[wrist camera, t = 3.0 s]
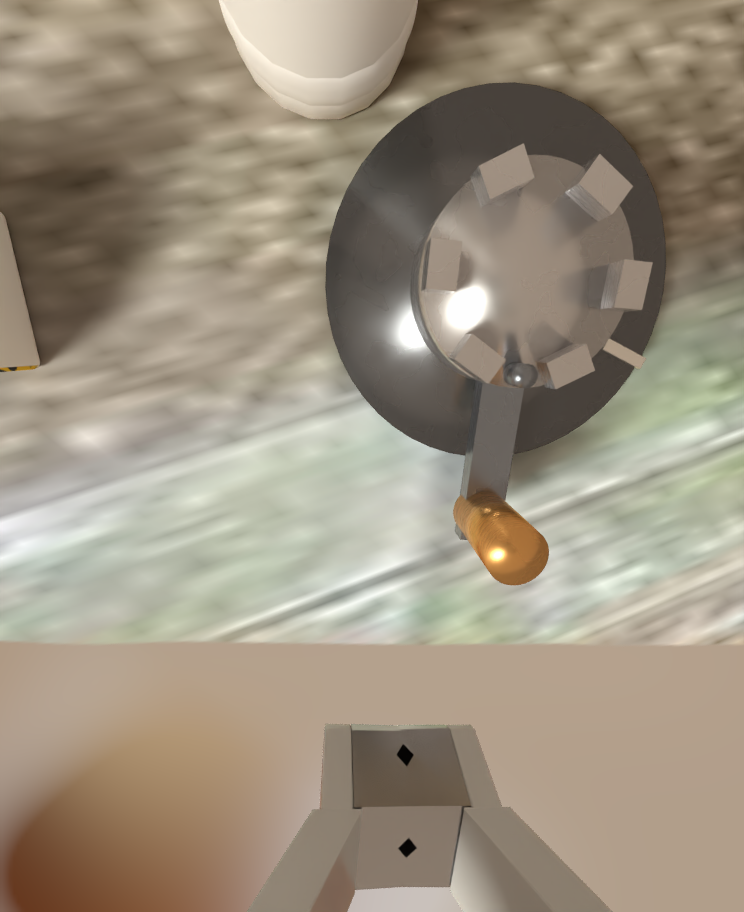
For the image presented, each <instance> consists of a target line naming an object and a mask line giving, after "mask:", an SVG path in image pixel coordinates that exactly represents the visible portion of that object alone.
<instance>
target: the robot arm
mask: <svg viewBox="0 0 744 912" xmlns="http://www.w3.org/2000/svg"><path fill="white" fill-rule="evenodd" d="M391 887H450V891H451V893H452V895H453V896H454V898H455V899H456V901H457V903H458V904H459V906H460V907H461V909H462V911H463V912H612V911H611V910H610V909H609V907H608V906H606V904H605V903H604V902H603V901H601V899H600V898H599V897H598V896H597V895H596V894H595V893H594V892H593V891H592V890H591V889H590V888H589V887H588V886H587V885H586V884H585V883H584V882H583V881H582V880H581V879H580V878H579V877H578V876H577V875H576V874H575V873H574V872H573V871H572V870H571V869H570V868H569V867H568V866H567V865H566V864H565V863H564V862H563V861H562V860H561V859H560V858H559V857H558V856H557V855H556V854H555V852H554V851H552V850H551V849H550V847H549V846H548V845H547V844H546V843H545V842H544V841H543V840H542V839H541V838H540V837H538V835H537V834H536V833H535V832H534V831H533V830H532V829H531V828H530V827H529V826H528V825H527V824H526V823H525V822H524V821H523V820H522V819H521V818H520V817H519V816H518V815H517V814H516V813H515V812H514V811H513V810H512V809H511V808H510V807H502V805H501V802H500V800H499V797H498V794H497V791H496V788H495V786H494V783H493V780H492V777H491V774H490V771H489V769H488V766H487V763H486V760H485V757H484V754H483V752H482V749H481V746H480V743H479V740H478V738H477V735H476V732H475V729H474V728H473V727H472V726H471V725H398V726H393V725H391V726H390V725H364V724H351V726H350V725H349V724H325V730H324V744H323V759H322V775H321V790H320V807H319V809H317V810H312V812H311V813H310V815H309V816H308V818H307V819H306V821H305V823H304V824H303V826H302V827H301V829H300V830H299V832H298V833H297V835H296V836H295V838H294V840H293V841H292V843H291V844H290V846H289V847H288V849H287V850H286V852H285V853H284V855H283V857H282V858H281V860H280V861H279V863H278V864H277V866H276V867H275V869H274V870H273V872H272V874H271V875H270V877H269V878H268V880H267V881H266V883H265V885H264V886H263V888H262V889H261V891H260V892H259V894H258V895H257V897H256V898H255V900H254V902H253V903H252V905H251V906H250V908H249V909H248V911H247V912H347V911H348V908H349V906H350V904H351V901H352V899H353V896H354V893H355V890H360V889H375V888H391Z"/></svg>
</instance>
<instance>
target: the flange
mask: <svg viewBox="0 0 744 912" xmlns="http://www.w3.org/2000/svg"><path fill="white" fill-rule="evenodd" d="M523 143H524V146H525V149H526V152H527V155H549V156H554V157H559V158H563V159H566V160H569V161H571V162H574V163H576V164H578V165H580V166H582V167H583V166H584V165H585V164H586V163H587V162H589V161H590V160H592V159H593V158H594V157H596V156H597V155H599V154H601V155H602V156H603V157H604V158H605V159H606V160H607V161H608V162H609V163H610V164H611V165H612V166H613V167H614V168H615V169H616V170H617V171H618V172H619V173H620V174H621V175H622V176H623V177H624V178H625V179H626V180H627V181H628V182H630V183H631V184H632V185H633V187H632V188H631V190H630V191H629V192H628V194H627V195H626V197H625V198H624V199H623V201H622V202H621V203H620V207H621V209H622V211H623V213H624V215H625V218H626V221H627V224H628V227H629V230H630V234H631V239H632V244H633V257H634V260H635V261H644V262H653V264H652V268H651V272H650V277H649V281H648V286H647V290H646V295H645V299H644V303H643V308H642V310H637V311H628V312H623V315H622V317H621V319H620V321H619V323H618V325H617V327H616V329H615V330H614V332H613V333H612V335H611V336H610V338H609V339H608V341H607V342H606V343H605V345H604V346H603V347H602V348H601V349H600V350H599V352H598V353H597V354H596V355H595V356H594V357H593V358H591V359H592V362H593V366H594V369H595V371H593V372H591V373H589V374H587V375H585V376H583V377H581V378H578V379H576V380H574V381H572V382H570V383H568V384H566V385H564V386H562V387H560V388H558V389H551V388H546V387H544V385H542V386H538V387H530V388H526V389H524V391H523V397H522V403H521V409H520V415H519V421H518V427H517V433H516V439H515V445H514V451H513V454H516V453H520V452H525V451H529V450H532V449H535V448H538V447H540V446H543V445H546V444H549V443H551V442H553V441H555V440H557V439H559V438H561V437H563V436H565V435H567V434H568V433H570V432H571V431H573V430H574V429H576V428H577V427H579V426H580V425H582V424H583V423H585V422H586V421H587V420H588V419H590V418H591V417H592V416H593V415H594V414H596V413H597V412H598V411H599V410H600V409H601V408H602V407H603V406H604V405H605V404H606V403H607V402H608V401H609V400H610V399H611V398H612V397H613V396H614V395H615V394H616V393H617V391H618V390H619V389H620V387H621V386H622V385H623V384H624V382H625V381H626V380H627V378H628V377H629V376H630V374H631V372H632V371H633V369H634V367H635V368H637V369H640V368H641V366H642V365H643V363H644V361H645V359H646V358H645V357H643V356H642V354H643V351H644V349H645V347H646V345H647V343H648V341H649V338H650V336H651V334H652V331H653V328H654V325H655V322H656V319H657V316H658V313H659V308H660V304H661V299H662V294H663V289H664V279H665V269H666V248H665V236H664V228H663V221H662V216H661V212H660V208H659V205H658V201H657V197H656V194H655V191H654V189H653V187H652V184H651V182H650V179H649V177H648V174H647V172H646V170H645V169H644V167H643V165H642V164H641V162H640V160H639V158H638V157H637V155H636V153H635V152H634V150H633V149H632V148H631V146H630V145H629V144H628V143H627V141H626V140H625V139H624V138H623V136H622V135H621V134H620V133H619V132H618V131H617V130H616V129H615V128H614V127H613V126H612V125H611V124H610V123H609V122H608V121H607V120H606V119H605V118H604V117H602V116H601V115H600V114H598V113H597V112H595V111H594V110H592V109H591V108H589V107H588V106H587V105H585V104H584V103H582V102H580V101H578V100H576V99H574V98H572V97H569V96H567V95H565V94H563V93H561V92H558V91H554V90H551V89H548V88H544V87H541V86H537V85H529V84H521V83H489V84H484V85H479V86H474V87H469V88H464V89H461V90H458V91H455V92H453V93H450V94H447V95H444V96H442V97H439V98H438V99H436V100H434V101H432V102H430V103H428V104H426V105H425V106H423V107H421V108H419V109H417V110H416V111H415V112H413V113H412V114H411V115H409V116H408V117H407V118H405V119H404V120H403V121H401V122H400V123H398V124H397V125H396V126H395V127H394V128H393V129H392V130H391V131H390V132H389V133H388V134H387V135H386V136H385V137H384V138H383V139H382V140H381V141H380V142H379V143H378V144H377V145H376V146H375V148H374V149H373V150H372V151H371V153H370V154H369V155H368V157H367V158H366V159H365V160H364V162H363V163H362V164H361V166H360V168H359V169H358V171H357V173H356V175H355V176H354V178H353V180H352V181H351V183H350V185H349V187H348V188H347V191H346V193H345V195H344V198H343V200H342V203H341V205H340V207H339V210H338V212H337V215H336V219H335V222H334V226H333V229H332V233H331V237H330V242H329V249H328V255H327V262H326V299H327V310H328V316H329V321H330V325H331V330H332V334H333V338H334V341H335V344H336V346H337V349H338V352H339V355H340V358H341V360H342V362H343V364H344V366H345V368H346V370H347V372H348V374H349V376H350V378H351V379H352V381H353V382H354V384H355V385H356V387H357V388H358V390H359V391H360V393H361V394H362V395H363V397H364V398H365V399H366V400H367V401H368V403H369V404H370V405H371V406H372V407H373V408H374V409H375V410H376V411H377V413H378V414H380V415H381V416H382V417H383V418H384V419H385V420H387V421H388V422H389V423H390V424H391V425H392V426H394V427H395V428H397V429H398V430H400V431H401V432H403V433H404V434H406V435H407V436H409V437H411V438H412V439H414V440H417V441H419V442H421V443H423V444H425V445H427V446H429V447H432V448H436V449H439V450H442V451H445V452H448V453H453V454H459V455H466V448H467V441H468V434H469V427H470V420H471V413H472V405H473V398H474V391H475V384H476V380H473V379H470V378H467V377H464V376H462V375H460V374H458V373H456V372H454V371H453V370H451V369H450V368H448V367H447V366H445V365H444V364H443V363H442V362H441V361H439V360H438V359H437V358H436V356H435V355H434V354H433V353H432V352H431V351H430V349H429V348H428V347H427V345H426V344H425V342H424V341H423V339H422V337H421V335H420V333H419V331H418V328H417V325H416V322H415V320H414V316H413V311H412V307H411V297H410V282H411V273H412V267H413V263H414V259H415V256H416V252H417V250H418V248H419V245H420V243H421V241H422V239H423V237H424V235H425V233H426V232H427V230H428V228H429V227H430V226H431V224H432V223H433V222H434V220H435V219H436V218H437V216H438V215H439V214H440V213H441V211H442V210H443V209H444V207H445V206H446V205H447V204H448V202H449V201H450V200H451V199H452V197H453V196H454V195H455V194H456V193H457V192H458V191H459V190H460V189H461V188H462V187H463V186H464V185H465V184H466V183H467V182H468V181H469V180H471V177H470V176H471V175H472V174H473V172H474V171H475V170H476V169H477V167H478V166H479V165H481V164H483V163H485V162H487V161H489V160H491V159H493V158H495V157H497V156H499V155H501V154H503V153H505V152H507V151H509V150H511V149H513V148H515V147H517V146H519V145H521V144H523Z"/></svg>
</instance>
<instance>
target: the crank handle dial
mask: <svg viewBox="0 0 744 912" xmlns="http://www.w3.org/2000/svg"><path fill="white" fill-rule="evenodd" d="M470 177H471V180H469V181H468V182H467V183H466V184H465V185H464V186H463V187H462V188H461V189H460V190H459V191H458V192H457V193H456V194H455V195H454V196H453V197H452V199H451V200H450V201H449V202H448V204H447V205H446V206H445V207H444V209H443V210H442V211H441V213H440V214H439V215H438V216H437V218H436V219H435V220H434V222H433V223H432V224H431V226H430V227H429V228H428V230H427V232H426V233H425V235H424V237H423V239H422V241H421V243H420V245H419V248H418V250H417V252H416V256H415V259H414V263H413V267H412V273H411V282H410V297H411V307H412V311H413V316H414V320H415V322H416V325H417V328H418V331H419V333H420V335H421V337H422V339H423V341H424V342H425V344H426V345H427V347H428V348H429V349H430V351H431V352H432V353H433V354H434V355H435V356H436V358H437V359H438V360H439V361H441V362H442V363H443V364H444V365H445V366H447V367H448V368H450V369H451V370H453V371H454V372H456V373H458V374H460V375H462V376H464V377H467V378H470V379H473V380H476V384H475V391H474V398H473V405H472V413H471V420H470V427H469V434H468V441H467V448H466V455H465V463H464V470H463V477H462V484H461V491H460V496H459V498H458V499H457V501H456V503H455V505H454V510H453V515H454V519H455V522H456V527H455V532H456V534H457V535H458V537H459V538H460V540H468V541H469V543H470V544H471V546H472V547H473V549H474V550H475V552H476V553H477V555H478V556H479V557H480V559H481V560H482V562H483V563H484V565H485V566H486V568H487V569H488V571H489V572H490V574H491V575H492V576H493V577H494V578H495V579H496V580H497V581H499V582H501V583H503V584H507V585H521V584H524V583H527V582H529V581H531V580H533V579H534V578H536V577H537V576H538V575H539V574H540V573H541V572H542V570H543V569H544V567H545V566H546V563H547V561H548V556H549V549H548V544H547V542H546V540H545V538H544V537H543V536H542V535H541V534H540V533H539V532H538V531H537V530H536V529H535V528H534V527H533V526H532V525H530V524H529V523H528V522H527V521H526V520H525V519H524V518H523V517H522V516H521V515H520V514H519V513H517V512H516V511H515V510H514V509H513V508H512V507H511V506H510V505H509V504H508V503H507V502H505V498H506V492H507V486H508V480H509V474H510V469H511V463H512V457H513V451H514V445H515V439H516V433H517V427H518V421H519V415H520V409H521V403H522V397H523V391H524V389H526V388H530V387H538V386H542V385H544V387H546V388H551V389H558V388H560V387H562V386H564V385H566V384H568V383H570V382H572V381H574V380H576V379H578V378H581V377H583V376H585V375H587V374H589V373H591V372H593V371H595V369H594V366H593V362H592V359H591V358H593V357H594V356H595V355H596V354H597V353H598V352H599V350H600V349H601V348H602V347H603V346H604V345H605V343H606V342H607V341H608V339H609V338H610V336H611V335H612V333H613V332H614V330H615V329H616V327H617V325H618V323H619V321H620V319H621V317H622V315H623V312H628V311H637V310H642V308H643V303H644V299H645V295H646V290H647V286H648V281H649V277H650V272H651V268H652V264H653V262H644V261H635V260H634V257H633V244H632V239H631V234H630V230H629V227H628V224H627V221H626V218H625V215H624V213H623V211H622V209H621V207H620V203H621V202H622V201H623V199H624V198H625V197H626V195H627V194H628V192H629V191H630V190H631V188H632V187H633V185H632V184H631V183H630V182H628V181H627V180H626V179H625V178H624V177H623V176H622V175H621V174H620V173H619V172H618V171H617V170H616V169H615V168H614V167H613V166H612V165H611V164H610V163H609V162H608V161H607V160H606V159H605V158H604V157H603V156H602V155H601V154H599V155H597V156H596V157H594V158H593V159H592V160H590V161H589V162H587V163H586V164H585V165H584V166H583V167H582V166H580V165H578V164H576V163H574V162H571V161H569V160H566V159H563V158H559V157H554V156H549V155H527V152H526V149H525V146H524V143H523V144H521V145H519V146H517V147H515V148H513V149H511V150H509V151H507V152H505V153H503V154H501V155H499V156H497V157H495V158H493V159H491V160H489V161H487V162H485V163H483V164H481V165H479V166H478V167H477V169H476V170H475V171H474V172H473V174H472V175H471V176H470Z"/></svg>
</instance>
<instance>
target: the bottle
mask: <svg viewBox="0 0 744 912" xmlns="http://www.w3.org/2000/svg"><path fill="white" fill-rule="evenodd" d="M219 2H220V6H221V10H222V13H223V16H224V19H225V22H226V24H227V27H228V29H229V32H230V33H231V35H232V37H233V39H234V41H235V44H236V47H237V50H238V53H239V54H240V56H241V58H242V59H243V61H244V63H245V65H246V66H247V68H248V70H249V72H250V73H251V75H252V77H253V78H254V80H255V82H256V84H257V85H258V86H259V87H260V88H262V89H263V90H264V91H265V92H266V93H267V94H268V95H269V96H270V97H271V98H272V99H274V100H275V101H276V102H277V103H278V104H279V105H280V106H281V107H283V108H285V109H288V110H290V111H292V112H295V113H297V114H300V115H302V116H305V117H307V118H309V119H342V118H344V117H347V116H349V115H351V114H354V113H356V112H358V111H360V110H363V109H365V108H367V107H368V106H369V105H370V104H371V103H372V102H373V101H374V100H375V99H376V98H377V97H378V96H379V95H380V94H381V93H382V92H383V91H384V90H385V89H386V88H387V87H388V86H389V85H390V83H391V81H392V78H393V76H394V74H395V72H396V70H397V68H398V65H399V63H400V61H401V59H402V57H403V55H404V51H405V46H406V43H407V40H408V38H409V36H410V34H411V31H412V28H413V24H414V20H415V16H416V10H417V4H418V0H219Z"/></svg>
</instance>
